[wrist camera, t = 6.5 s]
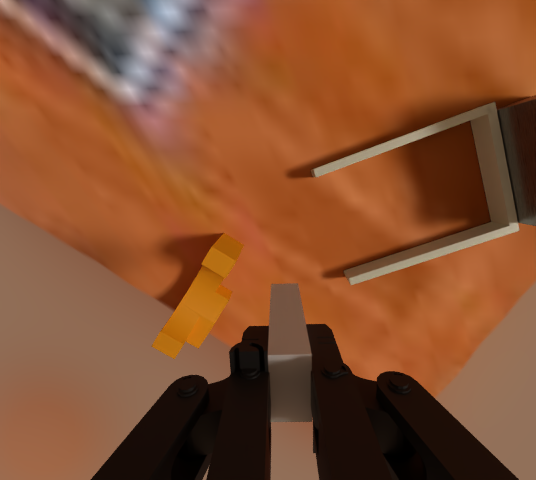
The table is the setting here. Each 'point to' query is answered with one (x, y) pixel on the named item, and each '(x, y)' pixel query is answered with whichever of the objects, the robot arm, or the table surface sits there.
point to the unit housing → (521, 155)
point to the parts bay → (493, 181)
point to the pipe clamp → (201, 300)
